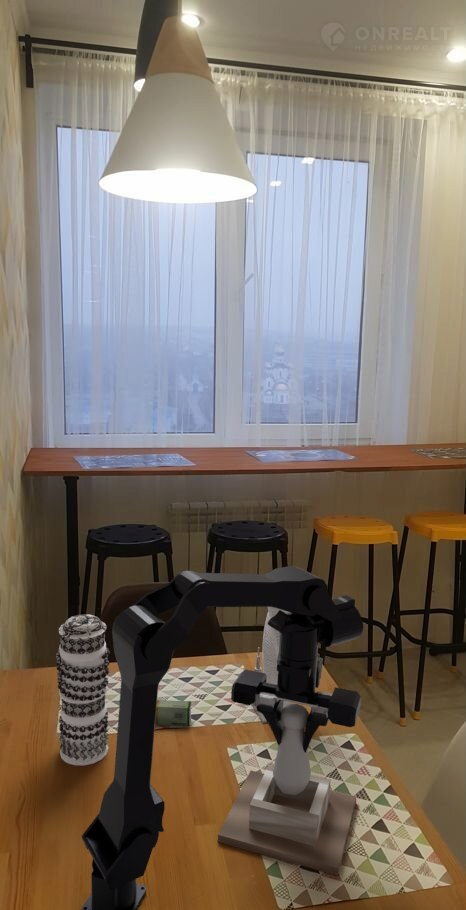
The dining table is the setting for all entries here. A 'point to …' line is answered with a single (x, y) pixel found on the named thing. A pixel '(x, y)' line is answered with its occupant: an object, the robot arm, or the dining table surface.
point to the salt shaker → (292, 751)
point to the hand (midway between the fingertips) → (293, 748)
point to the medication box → (173, 713)
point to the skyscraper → (269, 656)
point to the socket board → (291, 822)
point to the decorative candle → (83, 689)
